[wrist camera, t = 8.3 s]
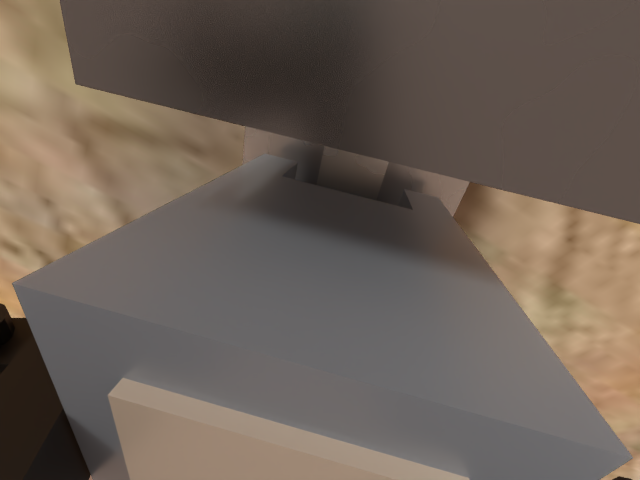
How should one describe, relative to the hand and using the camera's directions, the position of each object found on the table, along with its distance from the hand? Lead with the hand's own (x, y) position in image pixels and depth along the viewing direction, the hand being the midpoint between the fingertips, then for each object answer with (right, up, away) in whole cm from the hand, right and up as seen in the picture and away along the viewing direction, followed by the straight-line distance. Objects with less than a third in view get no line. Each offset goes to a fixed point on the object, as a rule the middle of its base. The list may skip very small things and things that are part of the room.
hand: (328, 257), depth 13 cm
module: (0, 0, 0) cm, 0 cm away
